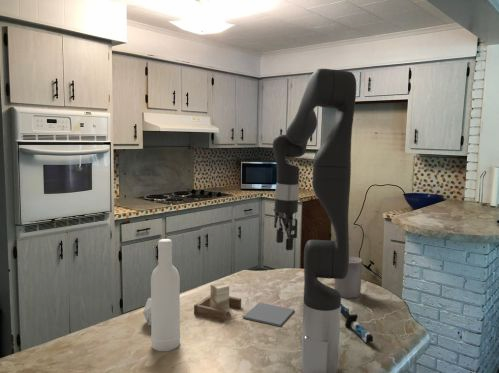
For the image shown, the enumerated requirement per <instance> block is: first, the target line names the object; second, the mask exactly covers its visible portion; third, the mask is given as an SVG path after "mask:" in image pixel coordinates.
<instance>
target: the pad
mask: <svg viewBox="0 0 499 373" xmlns="http://www.w3.org/2000/svg"><path fill="white" fill-rule="evenodd" d="M294 312H295V308H289V307H285V306H279V305H274V304H268V303H264V302H257V304H255V306H253V307H252V308H251V309H250V310H248V312H246V313H245V314H244V315H243V316H242V319H245V320H249V321H254V322H259V323H264V324H267V325H268V324H269V325H272V326H277V327H282V326H283V324H285V322H286V321H287V320H288V319H289V318H290V317H291V316H292V314H293V313H294Z"/></svg>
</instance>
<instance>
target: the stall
mask: <svg viewBox="0 0 499 373" xmlns="http://www.w3.org/2000/svg"><path fill="white" fill-rule="evenodd" d="M210 301H211V294H209V295H207V296H206V297H205V298H203V299H201V300H200V301H199V302H197V303H195V304H193V314H194V315H196V316H197V315H198V316H201V317H205V318H209V319H214V320H217V321H222V322H225V321H226V318H227V316H226V314H227V312H226V311H225V310H221V309H216V308H212V307H210ZM229 307H231V308H235V309H241V308H242V298H239V297H237V296H236V297H234V296H230V295H229Z"/></svg>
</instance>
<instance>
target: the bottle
mask: <svg viewBox="0 0 499 373" xmlns="http://www.w3.org/2000/svg"><path fill="white" fill-rule="evenodd" d="M157 249H158V253H157V254H158V259H157V260H158V265H157V266H156V267H155V268H154V269H153V271H152V273H151V276H150V298H151V325H150V327H151V332H150V333H151V335H150V336H151V337H150V341H151V348H152V349H153V350H155V351H158V352H170V351H174V350H175V349H177V348H179V346H180V342H181V330H180V328H181V320H180V319H181V316H180V315H181V314H180V313H181V310H180V309H181V308H180V307H181V302H180V300H181V298H180V297H181V296H180V295H181V294H180V292H181V290H180V289H181V287H180V285H181V281H180V280H181V277H180V273H179V271H178V269H177V268H176V267H175V266H174V265H173V241H172V239H171V238H162V239H161V238H160V239H159V240H158V243H157Z"/></svg>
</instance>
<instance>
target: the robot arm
mask: <svg viewBox="0 0 499 373" xmlns="http://www.w3.org/2000/svg"><path fill="white" fill-rule="evenodd" d="M356 99H357V79H356V77H355V74H354V73H353V72H352V71H347V70H342V69H341V70H340V69H330V68H317V69H316V70H315V71H313V72H312V74H311V76H310V77H309V80H308V82H307V84H306V87H305V89H304V92H303V95H302V98H301V100H300V104H299V106H298V108H297V109H298V110H297V112H296V114H295V116H294V118H293V119H292V121H291V123H289V125H288V127H287V129H286V132H285V134H277V135H276V136H275V137H274V139H273V141H272V151H273V154H274V160H275V163H276V185H275V192H274V208H273V209H274V219H273V220H274V222H273V227H274V229H275V231H276V237H275V238H276V239H275V241H276V243H279V244H280V243H283V242H284V234H285V250H286V251H292V250H293V249H294V239H298V219H297V218H296V219H295V218H294V214H296V213H298V211H299V199H300V198H299V195H300V189H299V187H300V186H299V182H300V180H299V179H300V168H299V166H298V165H296V164H292V163H289V162H287V160H286V158H300V157H302V156H304V155H305V153H306V151H307V147H308V141H309V140H310V138H311V137H312V136H313V134H314V133H315V132H316V129H317V127H318V118H317V115H316V113H315V108H316V107H320V108H329V109H335V116H334V121H333V126H332V128H331V130H330V133H329V134H328V136H327V137H326V139H325V140H324V142H322V145H321V146H320V147H319V149H318V150H317V152H316V154H315V156H314V158H313V162H312V183H311V184H312V189H313V192H314V193H315V196H316V197H317V199H318V201H319V203H320V205H321V206H322V207H323V209H324V210H325V212H326V214H327V217H328V218H329V220H330V222H331V225H332V227H333V230H334V234H335V240H324V239H309V240H307V241H306V243H305V246H304V249H303V269H304V270H303V275H304V276H303V277H304V278H303V279H304V283H303V284H304V286H303V307H302V308H303V309H302V310H303V311H302V330H301V331H302V332H301V333H302V335H301V336H302V338H301V363H300V364H301V370H302V373H338V371H339V357H340V356H339V352H340V332H341V331H340V330H341V313H340V312H341V304H342V297H341V295H340V293H339V292H338V291H336V290H335V289H334V288H333V287H331V286H328V285H326V284H324V283H323V282H321V281H320V280H319V278H320V279H333V280H335V279H344V278H345V277H346V276H347V273H348V268H349V255H350V244H349V243H350V240H349V236H350V235H349V232H350V231H349V206H350V192H351V175H352V174H351V172H352V169H351V168H352V162H351V160H352V158H351V157H352V133H353V123H354V115H355V114H354V113H355V107H356Z"/></svg>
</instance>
